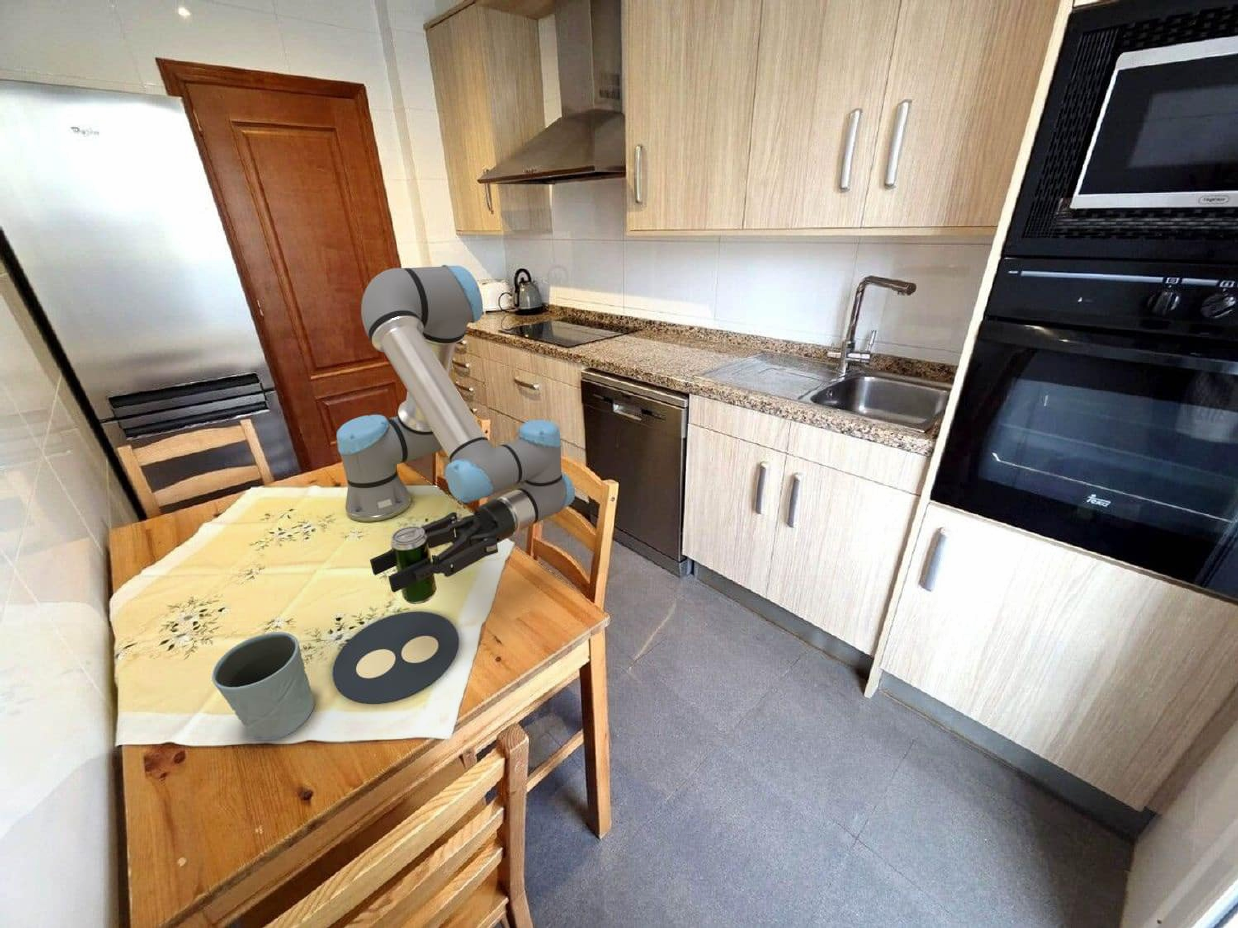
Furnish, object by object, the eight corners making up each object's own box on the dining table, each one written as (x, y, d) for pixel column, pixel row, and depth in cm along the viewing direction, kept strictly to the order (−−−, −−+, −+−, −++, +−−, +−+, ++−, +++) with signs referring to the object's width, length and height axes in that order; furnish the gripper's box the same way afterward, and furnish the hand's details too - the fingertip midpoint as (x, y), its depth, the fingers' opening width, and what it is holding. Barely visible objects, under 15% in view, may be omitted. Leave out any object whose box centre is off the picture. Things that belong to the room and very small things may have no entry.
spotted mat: (332, 634, 90) (332, 632, 90) (447, 600, 99) (446, 598, 98) (333, 723, 74) (332, 722, 74) (469, 674, 83) (469, 672, 82)
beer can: (407, 610, 81) (393, 548, 75) (399, 591, 85) (386, 531, 79) (441, 597, 83) (430, 537, 78) (432, 580, 87) (421, 521, 82)
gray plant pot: (333, 701, 78) (314, 644, 72) (269, 759, 69) (242, 699, 64) (289, 679, 81) (267, 623, 76) (223, 731, 73) (194, 672, 68)
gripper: (537, 553, 89) (415, 623, 74) (477, 516, 100) (360, 570, 84) (535, 517, 86) (407, 582, 70) (473, 483, 97) (350, 532, 81)
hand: (381, 575), depth 77 cm, fingers closed on beer can, 5 cm apart
